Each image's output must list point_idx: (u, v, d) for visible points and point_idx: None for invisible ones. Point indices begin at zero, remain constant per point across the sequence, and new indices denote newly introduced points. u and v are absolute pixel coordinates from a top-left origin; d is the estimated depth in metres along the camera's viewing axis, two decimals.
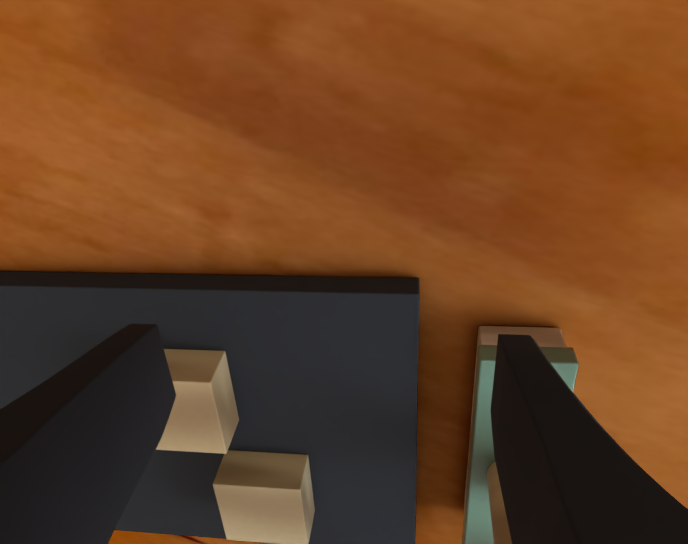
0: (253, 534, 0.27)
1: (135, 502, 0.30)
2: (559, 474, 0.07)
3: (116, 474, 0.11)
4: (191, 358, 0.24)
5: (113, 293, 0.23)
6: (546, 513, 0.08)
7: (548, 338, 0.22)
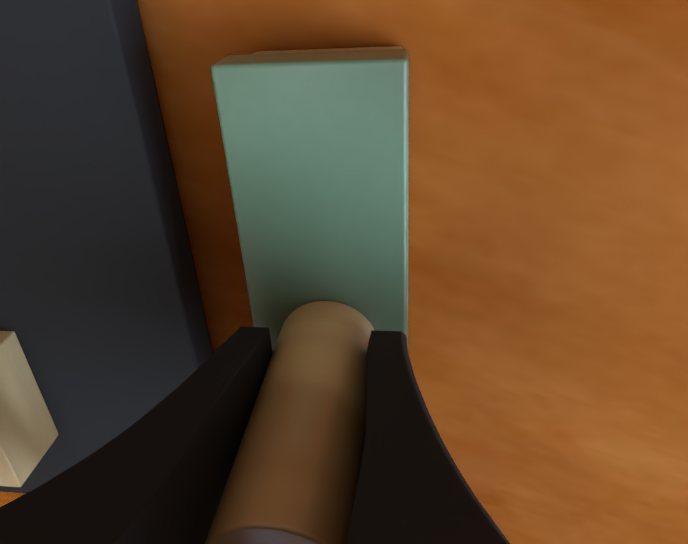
0: None
1: None
2: (367, 463, 0.08)
3: None
4: None
5: None
6: None
7: None
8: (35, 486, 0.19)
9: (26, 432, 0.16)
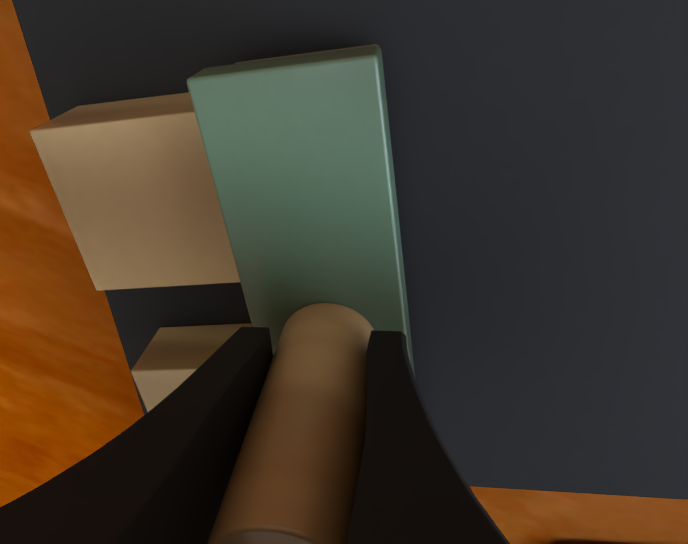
0: None
1: None
2: (367, 463, 0.08)
3: None
4: (174, 99, 0.13)
5: None
6: None
7: None
8: (551, 483, 0.18)
9: None
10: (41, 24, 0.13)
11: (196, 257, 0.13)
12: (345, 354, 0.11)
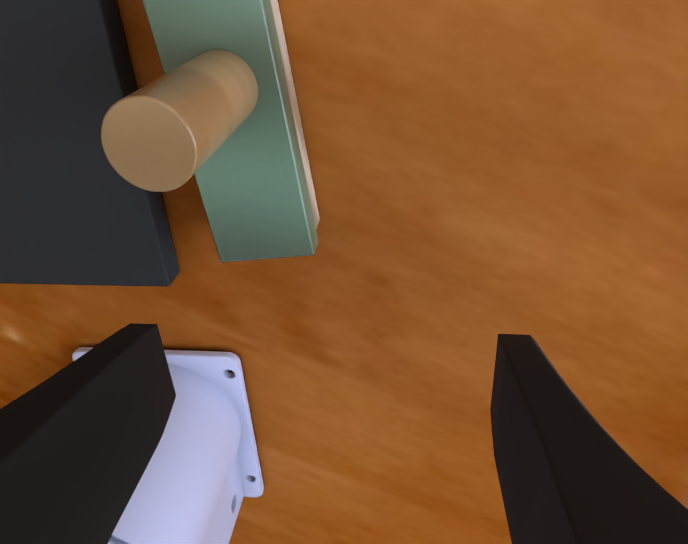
0: None
1: None
2: (559, 474, 0.07)
3: (116, 474, 0.11)
4: None
5: None
6: (546, 513, 0.08)
7: None
8: (12, 275, 0.24)
9: None
10: None
11: None
12: (220, 65, 0.15)
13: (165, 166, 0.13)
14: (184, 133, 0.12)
